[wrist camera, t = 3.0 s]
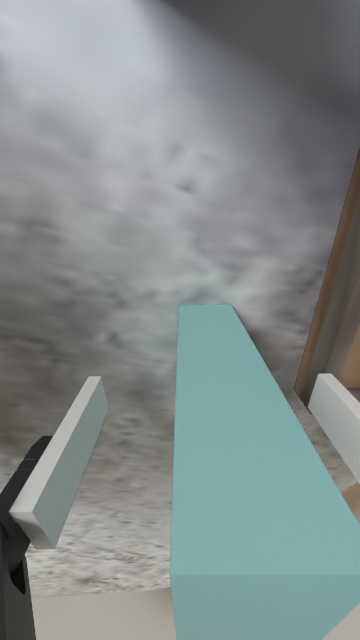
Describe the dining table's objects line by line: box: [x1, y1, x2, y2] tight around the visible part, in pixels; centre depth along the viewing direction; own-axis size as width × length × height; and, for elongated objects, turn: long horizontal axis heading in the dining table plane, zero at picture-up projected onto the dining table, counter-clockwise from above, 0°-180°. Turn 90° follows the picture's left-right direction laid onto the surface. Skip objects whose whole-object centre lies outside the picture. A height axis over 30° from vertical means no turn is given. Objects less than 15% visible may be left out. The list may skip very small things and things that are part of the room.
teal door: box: [170, 304, 360, 640], centre depth 11 cm, size 4×9×12 cm, turn 1°
